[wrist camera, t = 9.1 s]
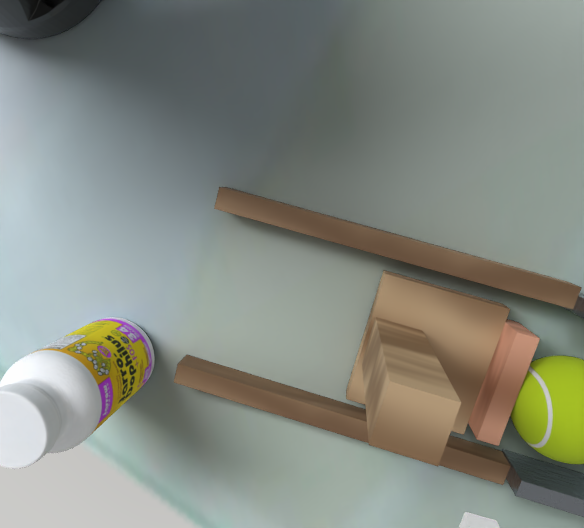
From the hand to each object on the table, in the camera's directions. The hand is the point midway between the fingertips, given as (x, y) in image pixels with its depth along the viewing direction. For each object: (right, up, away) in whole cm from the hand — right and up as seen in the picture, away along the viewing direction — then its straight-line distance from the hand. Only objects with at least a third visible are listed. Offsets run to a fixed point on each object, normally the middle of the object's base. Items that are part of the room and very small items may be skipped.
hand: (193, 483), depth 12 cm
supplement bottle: (-12, -2, +27) cm, 30 cm away
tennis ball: (+21, -4, +23) cm, 32 cm away
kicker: (+12, -1, +24) cm, 27 cm away
